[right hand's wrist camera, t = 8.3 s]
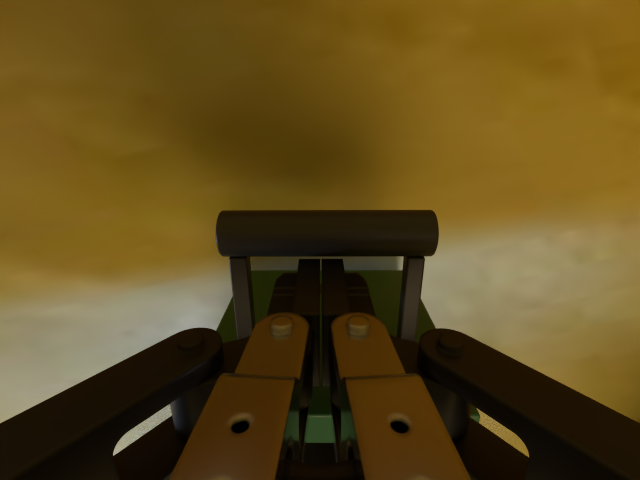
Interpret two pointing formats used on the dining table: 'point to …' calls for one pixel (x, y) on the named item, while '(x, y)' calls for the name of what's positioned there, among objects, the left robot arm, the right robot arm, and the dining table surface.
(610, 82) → the dining table surface
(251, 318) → the drawer
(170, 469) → the right robot arm
